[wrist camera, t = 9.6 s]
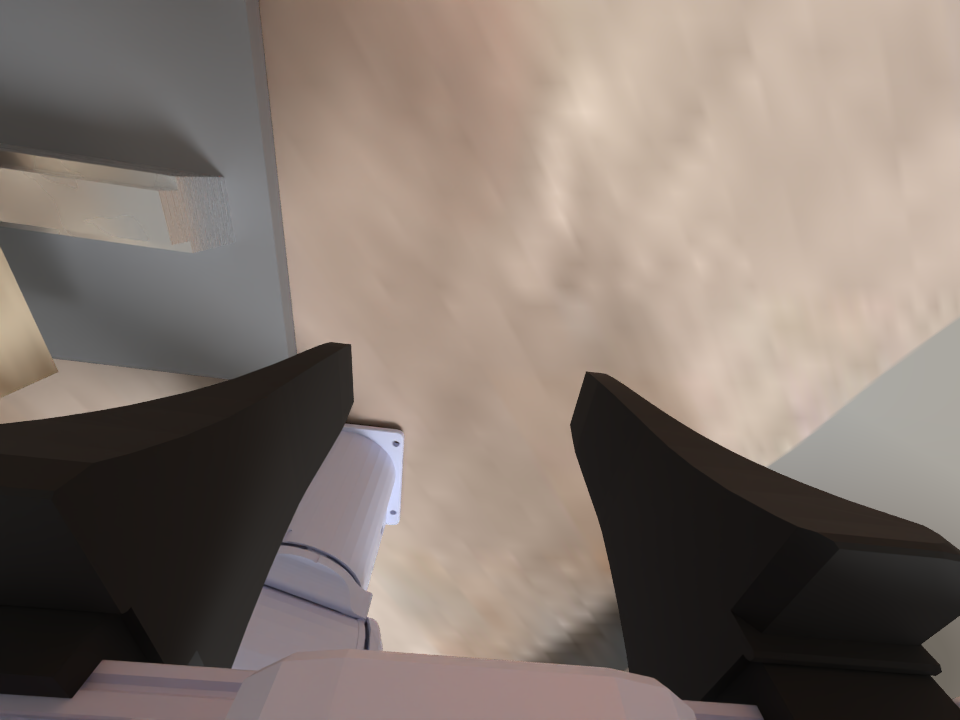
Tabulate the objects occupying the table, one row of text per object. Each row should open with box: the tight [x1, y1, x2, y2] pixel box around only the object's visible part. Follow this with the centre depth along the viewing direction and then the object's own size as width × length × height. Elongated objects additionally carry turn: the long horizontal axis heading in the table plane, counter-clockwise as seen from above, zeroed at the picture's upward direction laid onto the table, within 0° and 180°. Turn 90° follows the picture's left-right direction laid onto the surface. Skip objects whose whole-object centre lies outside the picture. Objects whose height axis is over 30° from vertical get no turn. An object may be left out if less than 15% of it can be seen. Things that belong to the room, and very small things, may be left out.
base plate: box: [0, 0, 297, 380], centre depth 17 cm, size 20×22×1 cm
